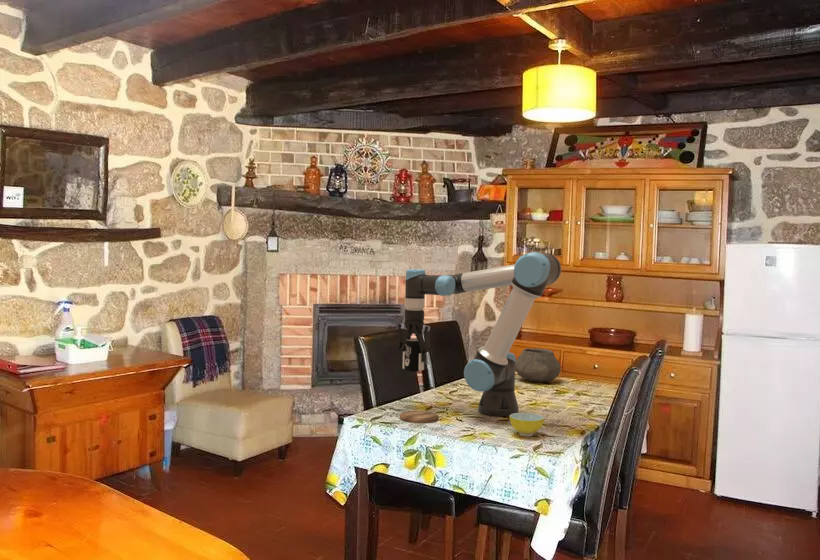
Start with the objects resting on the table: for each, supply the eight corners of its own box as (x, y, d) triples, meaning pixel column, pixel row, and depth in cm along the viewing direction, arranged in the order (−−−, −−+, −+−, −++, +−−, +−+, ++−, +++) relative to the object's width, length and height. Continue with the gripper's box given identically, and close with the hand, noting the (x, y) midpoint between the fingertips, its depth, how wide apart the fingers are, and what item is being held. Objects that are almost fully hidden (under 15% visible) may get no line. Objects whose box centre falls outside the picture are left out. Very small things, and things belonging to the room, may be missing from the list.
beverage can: (419, 372, 266) (420, 340, 266) (403, 371, 268) (403, 339, 267) (423, 369, 273) (423, 338, 272) (406, 368, 274) (407, 338, 274)
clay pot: (564, 380, 340) (565, 349, 340) (554, 387, 321) (555, 354, 320) (520, 375, 349) (521, 345, 349) (508, 382, 330) (509, 350, 329)
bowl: (505, 436, 230) (506, 418, 230) (513, 428, 241) (513, 411, 241) (540, 441, 226) (540, 421, 226) (546, 432, 237) (546, 414, 237)
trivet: (445, 417, 255) (445, 414, 255) (425, 425, 243) (425, 421, 243) (413, 412, 262) (413, 408, 262) (392, 419, 251) (392, 415, 251)
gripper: (441, 310, 267) (440, 370, 268) (398, 307, 278) (397, 365, 279) (431, 311, 261) (429, 373, 262) (388, 308, 271) (386, 367, 272)
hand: (413, 369), depth 270 cm, fingers closed on beverage can, 7 cm apart
